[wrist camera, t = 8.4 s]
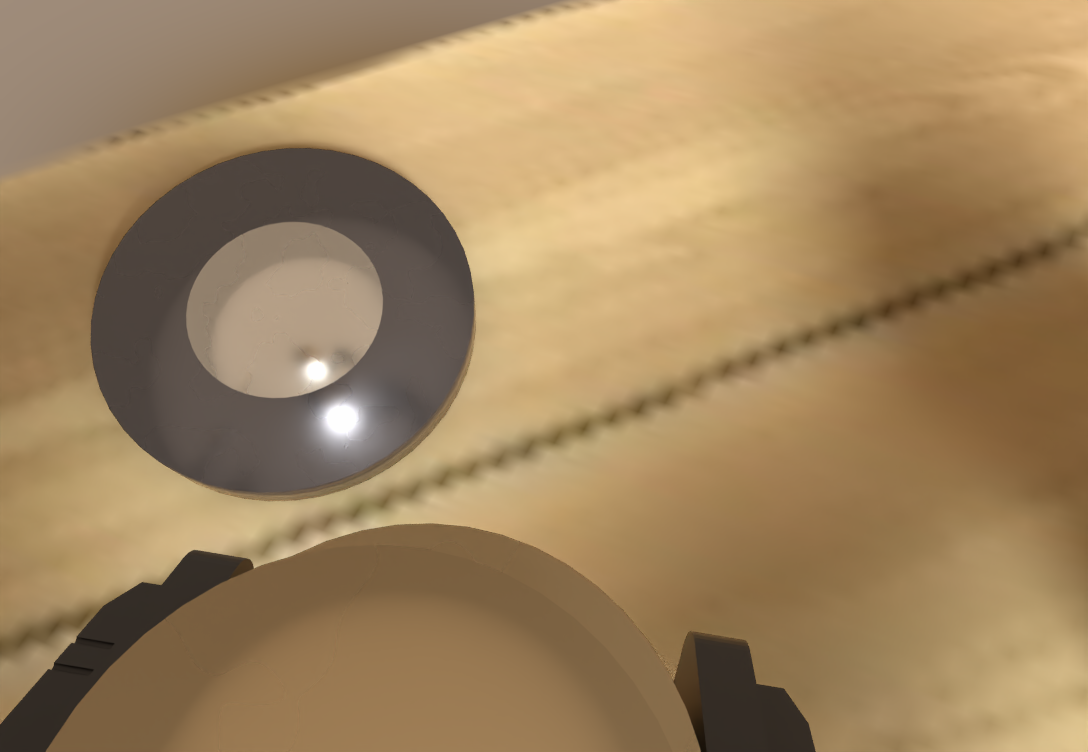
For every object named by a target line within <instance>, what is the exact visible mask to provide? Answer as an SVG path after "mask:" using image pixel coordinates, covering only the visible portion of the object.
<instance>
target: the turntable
mask: <svg viewBox="0 0 1088 752" xmlns="http://www.w3.org/2000/svg"><path fill="white" fill-rule="evenodd" d="M475 330H476V325H475V301H474V291H473V285H472V278H471V272H470V268H469V265H468V262H467V258H466V255H465V252H464V249H463V247H462V245H461V243H460V241H459V239H458V237H457V234H456V232H455V230H454V229H453V227H452V226H451V224H450V223H449V221H448V220H447V218H446V217H445V216H444V214H443V213H442V212H441V210H440V209H439V208H438V207H437V206H436V205H435V204H434V203H433V202H432V200H431V199H430V198H429V197H428V196H427V195H425V194H424V193H423V192H422V191H421V190H420V189H418V188H417V187H416V186H415V185H414V184H412V183H411V182H409V181H408V180H406V179H405V178H403V177H402V176H400V175H399V174H397V173H395V172H394V171H392V170H390V169H388V168H385V167H383V166H381V165H379V164H377V163H375V162H372V161H369V160H366V159H363V158H360V157H358V156H355V155H350V154H346V153H341V152H336V151H332V150H322V149H311V148H289V149H278V150H270V151H262V152H258V153H253V154H249V155H245V156H240V157H237V158H234V159H231V160H229V161H226V162H223V163H220V164H217V165H215V166H213V167H211V168H208V169H206V170H204V171H202V172H200V173H198V174H196V175H194V176H192V177H191V178H189V179H187V180H186V181H184V182H182V183H181V184H179V185H178V186H176V187H174V188H173V189H172V190H171V191H169V192H168V193H167V194H165V195H164V196H163V197H161V198H160V199H159V200H158V201H156V202H155V203H154V204H153V205H152V206H151V207H150V208H149V209H148V210H147V211H146V212H145V213H144V214H143V215H142V216H141V217H140V218H139V219H138V220H137V221H136V223H135V224H134V225H133V226H132V227H131V229H130V230H129V231H128V232H127V233H126V235H125V236H124V237H123V239H122V241H121V242H120V244H119V245H118V247H117V248H116V250H115V252H114V253H113V255H112V257H111V259H110V261H109V263H108V265H107V267H106V269H105V271H104V274H103V276H102V278H101V281H100V285H99V288H98V291H97V294H96V297H95V302H94V308H93V314H92V320H91V350H92V358H93V365H94V370H95V373H96V376H97V380H98V383H99V387H100V390H101V392H102V394H103V396H104V398H105V400H106V402H107V404H108V406H109V409H110V410H111V412H112V413H113V415H114V416H115V418H116V419H117V421H118V422H119V424H120V425H121V426H122V428H123V429H124V430H125V431H126V433H127V434H128V435H129V436H130V437H131V438H132V439H133V440H134V441H135V442H136V443H137V444H138V445H139V446H140V447H141V448H142V449H143V450H145V451H146V452H147V453H149V454H150V455H151V456H152V457H154V458H155V459H156V460H158V461H159V462H160V463H162V464H164V465H165V466H167V467H168V468H170V469H172V470H173V471H175V472H177V473H178V474H180V475H182V476H184V477H185V478H187V479H189V480H191V481H193V482H194V483H196V484H198V485H201V486H204V487H206V488H209V489H211V490H214V491H216V492H219V493H223V494H227V495H231V496H235V497H240V498H244V499H253V500H264V501H289V500H301V499H307V498H313V497H320V496H324V495H327V494H331V493H334V492H338V491H341V490H345V489H347V488H350V487H352V486H354V485H357V484H359V483H362V482H364V481H366V480H369V479H371V478H372V477H374V476H376V475H378V474H379V473H381V472H383V471H384V470H386V469H388V468H390V467H391V466H393V465H394V464H396V463H397V462H398V461H400V460H401V459H402V458H403V457H405V456H406V455H407V454H409V453H410V452H411V451H413V450H414V449H415V448H416V447H417V446H418V445H419V444H420V443H421V442H422V441H423V440H424V439H425V438H426V437H427V436H428V435H429V434H430V433H431V432H432V431H433V429H434V428H435V427H436V426H437V424H438V423H439V422H440V420H441V419H442V418H443V417H444V415H445V414H446V412H447V411H448V409H449V407H450V406H451V404H452V402H453V401H454V399H455V398H456V396H457V394H458V392H459V390H460V387H461V385H462V383H463V380H464V378H465V376H466V373H467V370H468V366H469V363H470V359H471V356H472V352H473V345H474V338H475Z"/></svg>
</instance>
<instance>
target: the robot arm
mask: <svg viewBox="0 0 1088 752" xmlns="http://www.w3.org/2000/svg"><path fill="white" fill-rule="evenodd" d="M252 569H254V567H253V564H252V562H251V560H250V559H246V558H240V557H234V556H228V555H222V554H216V553H210V552H204V551H198V550H193V551H191V552H189V553H188V554H187V555H186V556H185V557H184V558H183V559H182V560H181V562H180V563H179V564H178V565H177V567H176V568H175V569H174V570H173V572H172V573H171V574H170V575H169V577H168V578H167V579H166V580H165V582H164V583H163V584H162V585H156V584H150V583H144V582H142V583H140V584H138V585H137V586H135V587H134V588H132V589H130V590H129V591H127V592H125V593H124V594H122V595H121V596H119V597H117V598H116V599H114V600H112V601H111V602H109V603H108V604H106V605H104V606H103V607H102V608H101V609H100V611H99V612H98V613H97V614H96V615H95V616H94V617H93V619H92V620H91V621H90V622H89V623H88V624H87V626H86V627H85V628H84V629H83V630H82V631H81V632H80V634H79V635H78V636H77V639H76V642H75V643H71V644H70V645H69V646H68V647H67V648H66V650H65V651H64V652H63V653H62V654H61V655H60V656H59V658H58V659H57V660H56V661H55V662H54V666H53V668H52V670H49V669H48V670H47V671H46V673H45V674H44V675H43V676H42V677H41V678H40V679H39V681H38V682H37V683H36V684H35V685H34V686H33V687H32V689H31V690H30V691H29V692H28V693H27V694H26V696H25V697H24V698H23V699H22V700H21V701H20V702H19V704H18V705H17V706H16V707H15V708H14V709H13V710H12V712H11V713H10V714H9V715H8V716H7V717H6V718H5V720H4V721H3V722H2V723H1V724H0V752H46V750H47V749H48V747H49V746H50V744H51V743H52V741H53V740H54V738H55V737H56V735H57V734H58V732H59V731H60V729H61V728H62V727H63V725H64V724H65V722H66V721H67V719H68V718H69V716H70V715H71V713H72V712H73V710H74V709H75V707H76V706H77V705H78V704H79V702H80V701H81V700H82V699H83V698H84V697H85V695H86V694H87V693H88V692H89V691H90V689H91V688H92V687H93V686H94V685H95V684H96V682H97V681H98V680H99V679H100V678H101V677H102V675H103V674H104V673H105V672H106V671H107V669H108V668H109V667H110V666H111V665H112V664H113V663H114V662H116V661H117V660H118V659H119V658H120V657H121V656H122V655H123V654H124V653H125V652H126V651H127V650H128V649H129V648H130V647H131V646H132V645H134V644H135V643H136V642H137V641H138V640H139V639H140V638H141V637H142V636H143V635H144V634H145V633H147V632H148V631H149V630H151V629H152V628H153V627H155V626H156V625H157V624H159V623H160V622H161V621H163V620H164V619H165V618H167V617H168V616H169V615H171V614H172V613H173V612H175V611H176V610H177V609H179V608H180V607H181V606H183V605H185V604H186V603H188V602H190V601H191V600H193V599H195V598H196V597H198V596H200V595H202V594H203V593H205V592H207V591H208V590H210V589H212V588H213V587H215V586H217V585H219V584H220V583H222V582H225V581H227V580H229V579H232V578H234V577H236V576H238V575H241V574H243V573H245V572H248V571H250V570H252ZM674 684H675V686H676V688H677V690H678V692H679V694H680V697H681V699H682V701H683V703H684V705H685V707H686V709H687V712H688V715H689V717H690V720H691V723H692V726H693V729H694V732H695V735H696V738H697V741H698V744H699V747H700V750H701V752H816V751H815V747H814V743H813V740H812V736H811V732H810V728H809V724H808V722H807V721H806V719H805V718H804V717H803V715H802V714H801V712H800V711H799V710H798V708H797V707H796V705H795V704H794V702H793V701H792V700H791V698H790V697H789V695H788V694H787V692H786V691H785V690H784V689H783V688H777V687H771V686H765V685H759V684H756V680H755V675H754V669H753V664H752V659H751V654H750V649H749V646H748V643H747V642H746V641H745V640H739V639H734V638H728V637H722V636H716V635H710V634H704V633H698V632H692V631H690V632H689V633H688V634H687V636H686V639H685V642H684V645H683V649H682V653H681V657H680V661H679V664H678V668H677V672H676V676H675V679H674Z"/></svg>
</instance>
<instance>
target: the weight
mask: <svg viewBox="0 0 1088 752" xmlns="http://www.w3.org/2000/svg"><path fill="white" fill-rule="evenodd" d="M46 752H701V750H700V747H699V744H698V741H697V738H696V735H695V732H694V729H693V726H692V723H691V720H690V717H689V715H688V712H687V709H686V707H685V705H684V703H683V701H682V699H681V697H680V694H679V692H678V690H677V688H676V686H675V684H674V682H673V680H672V678H671V676H670V674H669V672H668V671H667V669H666V667H665V666H664V664H663V663H662V661H661V660H660V658H659V656H658V655H657V653H656V652H655V650H654V649H653V647H652V646H651V644H650V642H649V641H648V640H647V638H646V637H645V636H644V635H643V634H642V632H641V631H640V630H639V629H638V628H637V626H636V625H635V624H634V623H633V622H632V620H631V619H630V618H629V617H628V616H627V614H626V613H625V612H624V611H623V610H622V609H621V608H620V607H619V606H618V605H617V604H616V603H615V602H614V601H613V600H611V599H610V598H609V597H608V596H607V595H606V594H605V593H604V592H603V591H602V590H601V589H600V588H599V587H597V586H596V585H595V584H594V583H592V582H591V581H589V580H588V579H587V578H585V577H584V576H582V575H581V574H580V573H578V572H577V571H575V570H574V569H573V568H571V567H570V566H569V565H567V564H565V563H563V562H562V561H560V560H558V559H556V558H554V557H552V556H550V555H549V554H547V553H545V552H543V551H541V550H539V549H537V548H535V547H533V546H530V545H528V544H525V543H522V542H520V541H517V540H514V539H512V538H509V537H506V536H504V535H500V534H496V533H492V532H487V531H483V530H479V529H475V528H470V527H463V526H453V525H443V524H405V525H393V526H387V527H381V528H375V529H369V530H362V531H359V532H355V533H352V534H349V535H345V536H342V537H339V538H335V539H332V540H329V541H326V542H323V543H321V544H319V545H317V546H314V547H312V548H310V549H307V550H305V551H303V552H301V553H298V554H296V555H294V556H291V557H288V558H285V559H281V560H278V561H275V562H271V563H268V564H265V565H261V566H259V567H257V568H254V569H252V570H250V571H248V572H245V573H243V574H241V575H238V576H236V577H234V578H232V579H229V580H227V581H225V582H222V583H220V584H219V585H217V586H215V587H213V588H212V589H210V590H208V591H207V592H205V593H203V594H202V595H200V596H198V597H196V598H195V599H193V600H191V601H190V602H188V603H186V604H185V605H183V606H181V607H180V608H179V609H177V610H176V611H175V612H173V613H172V614H171V615H169V616H168V617H167V618H165V619H164V620H163V621H161V622H160V623H159V624H157V625H156V626H155V627H153V628H152V629H151V630H149V631H148V632H147V633H145V634H144V635H143V636H142V637H141V638H140V639H139V640H138V641H137V642H136V643H135V644H134V645H132V646H131V647H130V648H129V649H128V650H127V651H126V652H125V653H124V654H123V655H122V656H121V657H120V658H119V659H118V660H117V661H116V662H114V663H113V664H112V665H111V666H110V667H109V668H108V669H107V671H106V672H105V673H104V674H103V675H102V677H101V678H100V679H99V680H98V681H97V682H96V684H95V685H94V686H93V687H92V688H91V689H90V691H89V692H88V693H87V694H86V695H85V697H84V698H83V699H82V700H81V701H80V702H79V704H78V705H77V706H76V707H75V709H74V710H73V712H72V713H71V715H70V716H69V718H68V719H67V721H66V722H65V724H64V725H63V727H62V728H61V729H60V731H59V732H58V734H57V735H56V737H55V738H54V740H53V741H52V743H51V744H50V746H49V747H48V749H47V750H46Z"/></svg>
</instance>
